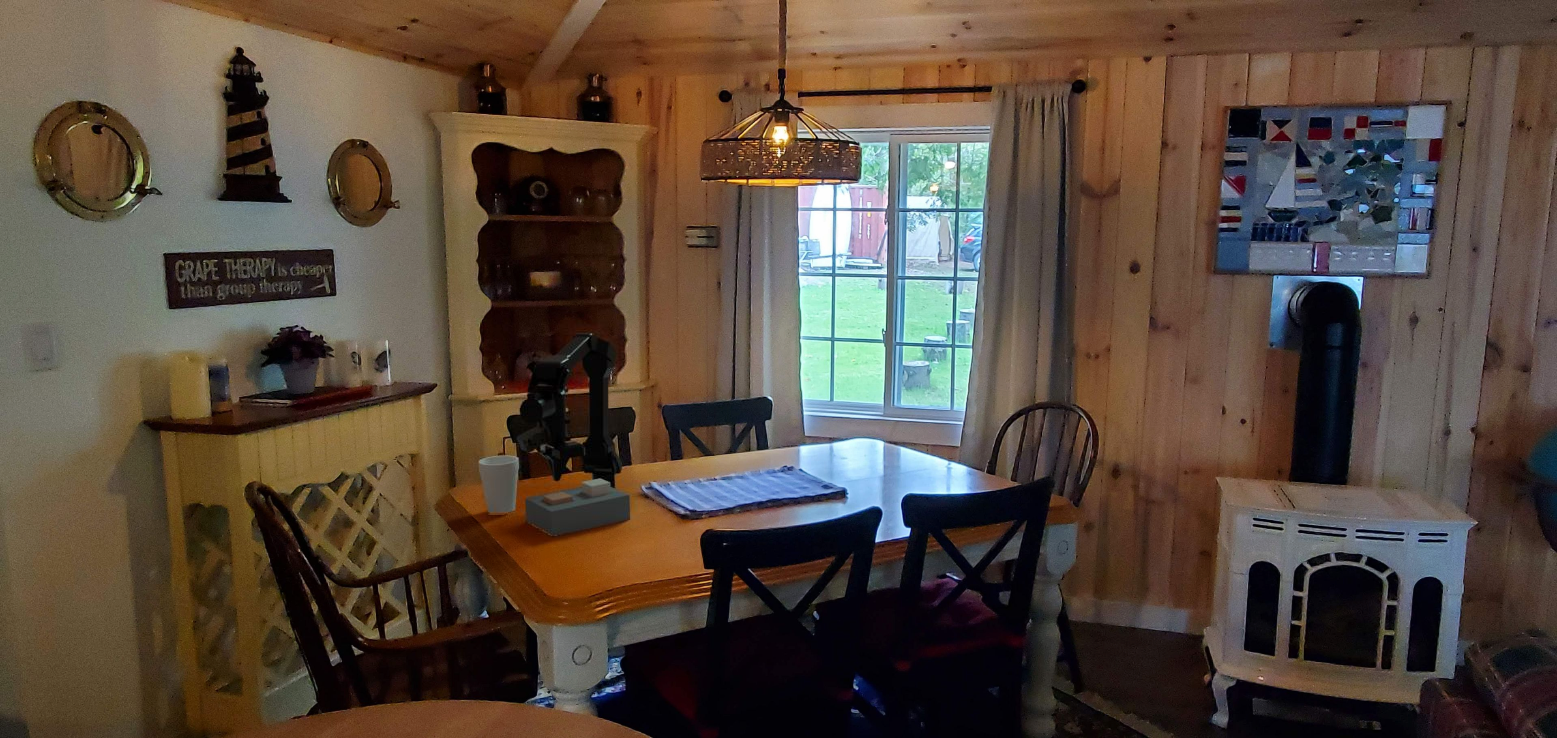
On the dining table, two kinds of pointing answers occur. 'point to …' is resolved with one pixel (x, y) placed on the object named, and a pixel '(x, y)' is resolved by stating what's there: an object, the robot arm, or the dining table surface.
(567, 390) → the robot arm
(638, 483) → the dining table surface
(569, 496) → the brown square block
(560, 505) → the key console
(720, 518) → the dining table surface
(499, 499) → the foam cup
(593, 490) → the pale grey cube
